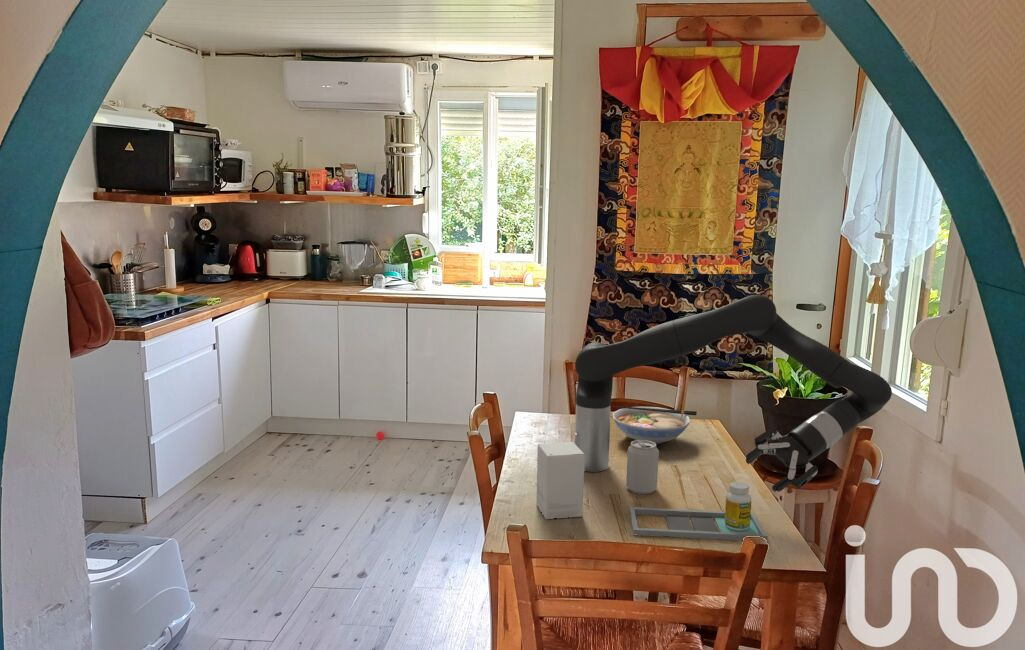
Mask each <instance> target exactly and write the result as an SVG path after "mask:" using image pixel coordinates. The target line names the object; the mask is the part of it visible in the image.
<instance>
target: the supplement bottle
mask: <svg viewBox="0 0 1025 650" xmlns="http://www.w3.org/2000/svg"><path fill="white" fill-rule="evenodd" d="M749 492H750V485H749V484H748V483H745V482H742V481H732V482H730V483H729V491H728V492H727V493H726V495H725V507H724V508H725V509H724V511H725V526H726V527H727V528H729V529H731V530H735V531H745V530H748V529H749V527H750V514H751V513H752V496H751V495H750V493H749Z"/></svg>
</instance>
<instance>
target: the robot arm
mask: <svg viewBox="0 0 1025 650" xmlns="http://www.w3.org/2000/svg"><path fill="white" fill-rule="evenodd" d="M745 333H747V334H748V335H750V336H753V337H755V338H757V339H759V340H761V341H763V342H766V343H767V344H770V345H771V346H773V347H775V348H777V349H778V350H780V351H781V352H783V353H784V354H787V355H788V356H789V357H791V358H792V359H794V361H796V362H797V363H799V364H800V365H801V366H803V367H804V368H806V369H807V370H808V371H809V372H811V373H812V374H814V375H815V376H816V377H818V378H819V379H821V380H823V381H824V382H825V383H827V384H828V385H829V386H831V387H833V388H835V389H840V388H845V389H847V390H848V391H850V393H848V394H847V395H846V396H845V397H843V398H842V399H839V400H836V401H834V402H832V403H831V404H829V405H828V406H827V407H825V408H823V410H821V411H820V412H818V413H816V414H814V415H812V416H811V417H809V418H808V419H806V420H805V421H803V422H802V423H801V424H800V425H798V426H797V427H795V428H794V429H792V430H791V431H789V432H788V433H787V434H785V435H781V433H780V432H779V431H778V428H777V427H775V426H773V427H771V428H769V429H768V430H766V431H765V432H763V433H761V434H760V435H758V436H756V437H755V438H754V447H755V448H754V449H753V450H751V451H750V452H748V453H747V454H746V457H745V463H746V464H747V465H750V464H751V463H753V462H754V461H756V460H757V459H758V458H759V457H761V455H769V456H775V457H776V459H777V460H779V461H780V462H781V463H782V464H783V465H784V466H785V467H787V468H789V469H788V473H787V476H784V477H782V478H781V479H779V480H778V481H777V482H775V483H774V484H772V487H771V490H772V491H773V492H779V493H780V492H781V491H784V489H786V488H787V487H788V486H791V485H792V486H794V487H795V488H796V489H799V490H800V489H802V488H803V487H804V486H805V485H806V484H808V483H809V482H810V481H811V480H812V479H813V478H815V476H817V475H818V471H819V470H818V466H816V465H813V464H812V463H811V461H812V460H814V458H816V457H817V456H819V455H820V454H822V453H823V452H825V451H826V450H828V449H829V448H832V447H833V445H834V444H836V443H837V442H838V441H839V440H840V439H841V438H842V437H843V436H844V435H846V434H847V433H849V432H850V431H851V430H853V429H855V427H857V425H859V424H861V423H862V422H864V421H866V420H868V419H869V418H871V417H872V416H874V415H876V414H877V413H878V412H879V411H881V410H882V408H884V407H885V405H886V404H887V403H888V402H889V401H890V400H891V398H892V396H893V395H892V394H893V391H892V388H891V385H890V384H889V382H888V381H887V380H886V379H885V378H883V377H882V376H881V375H879V374H878V373H876V372H873V371H871V370H869V369H867V368H865V367H863V366H859V365H858V364H854V363H852V362H850V361H849V360H848V359H846V358H845V357H843V356H842V355H840V353H837V352H836V351H835V350H833V349H832V348H830V347H829V346H827V345H825V344H823V343H821V342H820V341H818V340H816V339H813V338H811V337H810V336H808V335H806V334H804V333H802V332H801V331H799V330H797V329H796V328H795V327H793V326H792V325H790V324H789V323H788V322H787V321H785V320H784V318H782V317H781V316H780V315H779V314H778V312H777V307H776V304H775V303H774V302H773V300H772V299H770V297H768V296H766V295H762V294H751V295H748V296H745V297H743V298H741V299H738V300H736V301H734V302H731V303H729V304H726V305H723V306H721V307H718V308H716V309H713V310H709V311H706V312H705V311H704V312H701V313H697V314H692V315H688V316H685V317H680V318H677V319H673V320H670V321H666V322H664V323H661V324H658V325H655V326H653V327H650V328H648V329H645V330H643V331H641V332H639V333H638V334H635V335H634V336H631V337H630V338H627V339H625V340H622V341H619V342H615V343H610V344H607V345H606V344H604V343H601V342H597V341H596V342H591V343H588V344H586V345H585V346H583V347H582V348H581V350H580V351H579V352H578V354H577V355H576V358H575V363H574V369H575V372H576V373H577V375H578V377H577V388H576V394H575V422H574V424H575V425H574V443H575V445H576V446H577V447H578V448H579V449H580V450H581V451H582V452H583V453H584V454H585V461H584V472H589V473H591V472H594V473H595V472H596V473H598V472H604V471H606V470H608V469H609V467H610V465H609V462H610V439H611V437H610V435H611V432H610V431H611V414H612V413H611V410H612V409H611V408H612V394H613V387H614V385H613V383H614V375H617V374H620V373H623V372H625V371H627V370H630V369H635V368H637V367H643V366H648V365H652V364H657V363H661V362H665V361H668V360H673V359H676V358H681V357H683V356H686V355H689V354H692V353H695V352H696V351H699V350H700V349H703V348H705V347H707V346H709V345H710V344H713V343H714V342H716V341H719V340H722V339H723V338H727V337H730V336H736V335H739V334H745ZM770 440H772V441H774V440H777V442H774V443H773V442H771V443H767V442H769V441H770ZM797 468H805V472H804V473H802V475H800V476H799V477H797V478H796V477H795V476H796V472H797Z"/></svg>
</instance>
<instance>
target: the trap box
mask: <svg viewBox="0 0 1025 650" xmlns="http://www.w3.org/2000/svg"><path fill="white" fill-rule="evenodd" d="M628 510H629V518H630V523H631V524H632V525H631V530H632V535H633V534H637V535H636V536H641V535H655V536H654V537H662V536H674V537H673V538H683V537H686V539H690V538H691V539H703V538H704V539H708V540H725V541H726V540H727V541H744V540H743V538H744V537H746V536H760V537H763V538H765V539H766V540H767V541H768V540H769V539H768V538H769V535H768V533H766V531H765V529H764V528H763V526H762V524H761V522H760V520H759V518H758V517H757V515H756V513H755V512H751V514H750V527H749V529H748V530H745V531H735V530H731V529H729V528H727V527H726V526H725V510H724V511H722V510H721V511H720V510H701V509H699V510H698V509H677V508H675V509H674V508H654V507H638V506H637V507H636V506H634V507H633V506H632V507H631V506H629V509H628ZM636 515H646V516H664V517H665V520H666V524H667V527H668V529H666V528H664V529H663V528H648V527H647V528H646V527H645V528H643V527H639V526H638V522H637V516H636ZM688 516H690V517H688ZM693 529H694V530H693Z"/></svg>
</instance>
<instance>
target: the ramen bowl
mask: <svg viewBox="0 0 1025 650" xmlns="http://www.w3.org/2000/svg"><path fill="white" fill-rule="evenodd" d="M612 408H620V409H618V410H615V411H614V412H612V418H613V421H614V423H615V424H616V426H617V428H618V429H619V430H620V431H621V433H624V434H625V436H628V438H630V439H632V440H634V441H635V440H647V441H651V442H654V443H655V444H656V445H658V444H660V445H661V444H663V443H665V442H669V441H672V440H674V439H677V438H678V437H679V436H680V435H681V434H682V433H683V432H684V431H685V430H686V429H687V428H688V426H689V425H690V423H691V419H690V416H697V410H679V409H669V408H663V407H656V406H617V405H612ZM688 415H689V416H688Z"/></svg>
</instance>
